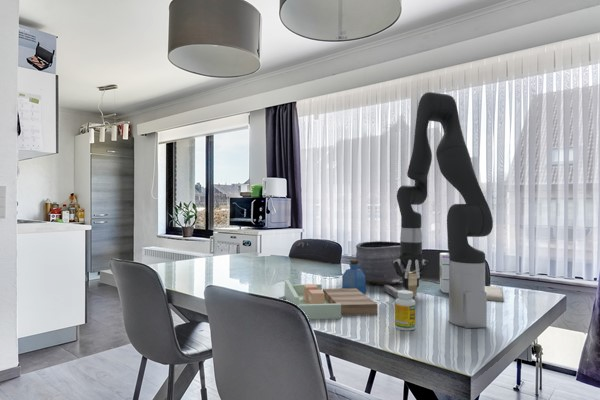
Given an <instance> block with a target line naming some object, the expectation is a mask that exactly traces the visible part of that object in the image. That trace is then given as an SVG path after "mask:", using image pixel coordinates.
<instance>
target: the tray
mask: <svg viewBox="0 0 600 400" xmlns="http://www.w3.org/2000/svg"><path fill="white" fill-rule="evenodd" d="M303 284H304V283H303ZM303 284H302V283H301V284H292V283H291V281H290V280H289V279H285V280H284V294H283V295H284V299H285V300H288V301H290V302H292V303H294V304H296V305H297V306H299V307H300V308H301V309H302V310H303V311H304V312H305V314H306V315H307V317H308V319H309V320H331V319H332V320H333V319H335V320H337V319H341V318H342V315H341V304H340V303H338V304H330V303H329V302H328V301H327V300H326V299H325V298H324V304H309V303H305V301H304V300H303ZM314 284H315V285H316V286H317V287H318V290H322V291H323V285H322V284H321V283H320V284H319V283H314Z"/></svg>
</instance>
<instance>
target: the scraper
mask: <svg viewBox="0 0 600 400" xmlns="http://www.w3.org/2000/svg"><path fill="white" fill-rule="evenodd" d="M407 279H408V289H405V288H404V287H403V290H407V291H412V292H413V297H418V296H417V295H418V293H417V291H418V290H417V289H418V287H417V274H416V273H414V272H413V271H410V272H409V273H408V278H407ZM383 291H384V292H386V293H387V294H389V295H390V296H392V297H394V298H395V300H396V299H397V298H399V297H398V296H397V294H398V291H399V290H398V289H397V288H395V287H393V286H392V285H383Z"/></svg>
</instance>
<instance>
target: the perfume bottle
mask: <svg viewBox="0 0 600 400" xmlns="http://www.w3.org/2000/svg"><path fill="white" fill-rule="evenodd" d="M349 262H350V263H349V268H348V269H346V270H345V271H344V273H343V275H342V277H341V278H342V279H341V281H342V282H341V289H342V288H356V289H358V290H359V291H360V292H362V293H363V294H364V295H365V294H366V293H367V292H366V289H367V288H366V287H367V286H366V282H367V280H366V276H365V274H364V273H363V271H362V270H361V269H358V267H359V264H358V260H356V259H350V260H349Z"/></svg>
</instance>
